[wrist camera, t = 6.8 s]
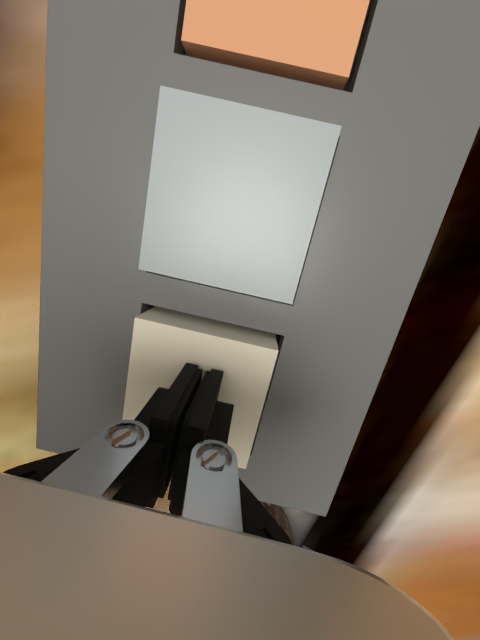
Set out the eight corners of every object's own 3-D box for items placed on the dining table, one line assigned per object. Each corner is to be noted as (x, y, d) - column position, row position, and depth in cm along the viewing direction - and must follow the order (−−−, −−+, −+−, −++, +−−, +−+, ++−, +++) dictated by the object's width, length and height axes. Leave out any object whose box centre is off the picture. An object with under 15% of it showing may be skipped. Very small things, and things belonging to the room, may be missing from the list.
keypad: (307, 445, 20) (325, 516, 15) (95, 395, 20) (36, 448, 15) (476, -52, 13) (635, -271, 7) (141, -124, 13) (57, -392, 7)
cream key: (248, 422, 16) (245, 469, 13) (149, 399, 16) (120, 439, 13) (273, 326, 14) (278, 350, 11) (163, 301, 14) (134, 317, 11)
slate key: (283, 290, 14) (292, 304, 10) (168, 264, 14) (138, 269, 10) (318, 160, 12) (341, 126, 9) (187, 131, 12) (160, 85, 9)
